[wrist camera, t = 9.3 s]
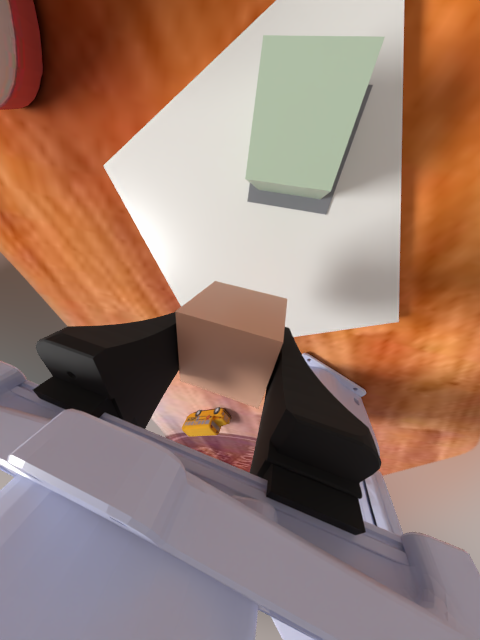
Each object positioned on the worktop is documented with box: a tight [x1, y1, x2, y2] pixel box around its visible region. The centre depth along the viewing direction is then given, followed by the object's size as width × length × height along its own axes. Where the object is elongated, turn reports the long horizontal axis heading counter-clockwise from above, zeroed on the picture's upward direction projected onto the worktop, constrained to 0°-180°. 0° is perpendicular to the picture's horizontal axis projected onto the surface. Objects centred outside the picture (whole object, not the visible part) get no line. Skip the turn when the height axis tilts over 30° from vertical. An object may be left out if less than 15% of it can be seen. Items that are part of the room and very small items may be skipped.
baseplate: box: [104, 0, 404, 337], centre depth 16 cm, size 22×22×1 cm
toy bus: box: [182, 408, 231, 436], centre depth 34 cm, size 3×10×4 cm, turn 122°
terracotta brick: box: [175, 281, 287, 409], centre depth 10 cm, size 5×5×4 cm
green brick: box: [245, 35, 385, 199], centre depth 10 cm, size 5×5×4 cm
